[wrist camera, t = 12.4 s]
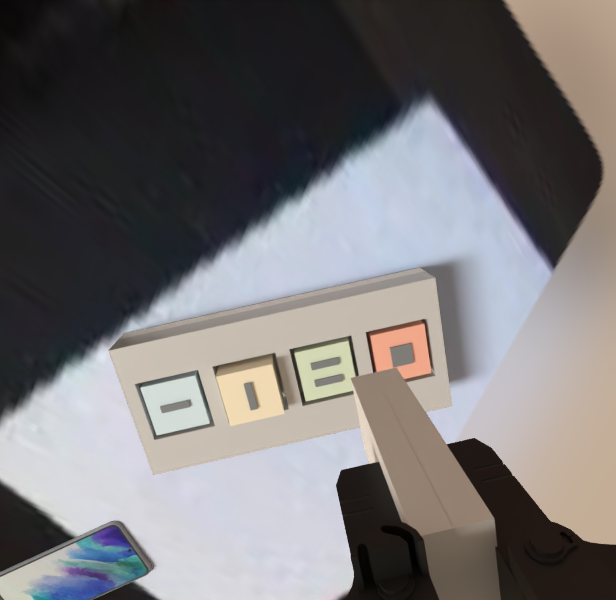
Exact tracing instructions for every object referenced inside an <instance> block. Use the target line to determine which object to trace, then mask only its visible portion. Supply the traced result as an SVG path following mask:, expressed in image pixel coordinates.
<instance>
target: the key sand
mask: <svg viewBox="0 0 616 600" xmlns="http://www.w3.org/2000/svg"><path fill="white" fill-rule="evenodd" d="M216 379H217V382H218V386H219V389H220V393H221V396H222V399H223V403H224V406H225V410H226V413H227V417H228V420H229V423H230V426H234V425H238V424H243V423H247V422H251V421H256V420H260V419H264V418H269V417H273V416H278V415H282V414H285V413H284V399H283V395H282V391H281V387H280V383H279V379H278V375H277V371H276V367H275V363H274V359H273V355H272V353H271V354H266V355H262V356H257V357H253V358H249V359H244V360H240V361H235V362H231V363H226V364H222V365H219V367H218V371H217V375H216Z"/></svg>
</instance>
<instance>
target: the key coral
mask: <svg viewBox="0 0 616 600" xmlns="http://www.w3.org/2000/svg"><path fill="white" fill-rule="evenodd" d="M366 335H367V341H368V346H369V352H370V357H371V363H372V368H373V373H375V372H379V371H383V370H388V369H392V368H397V369H398V370H399V372H400V373H401V375H402V377H403V378H404V379H407V378H411V377H416V376H420V375H424V374H429V373H431V367H430V360H429V353H428V346H427V339H426V332H425V325H424V323H423V322H422V321H421V320H417V321H413V322H408V323H404V324H399V325H395V326H391V327H386V328H382V329H377V330H373V331H368V332H366Z"/></svg>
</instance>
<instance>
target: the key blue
mask: <svg viewBox="0 0 616 600" xmlns="http://www.w3.org/2000/svg"><path fill="white" fill-rule="evenodd" d="M140 389H141V392H142V394H143V397H144V400H145V403H146V406H147V409H148V412H149V415H150V418H151V420H152V423H153V426H154V429H155V432H156V435H161V434H166V433H170V432H174V431H179V430H183V429H187V428H192V427H196V426H201V425H205V424H209V423H210V420H211V416H212V415H211V411H210V408H209V405H208V401H207V398H206V395H205V391H204V388H203V385H202V382H201V378H200V375H199V372H198V370H195V371H191V372H186V373H182V374H178V375H173V376H169V377H164V378H160V379H155V380H151V381H147V382H143V384H142V386H141V387H140Z"/></svg>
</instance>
